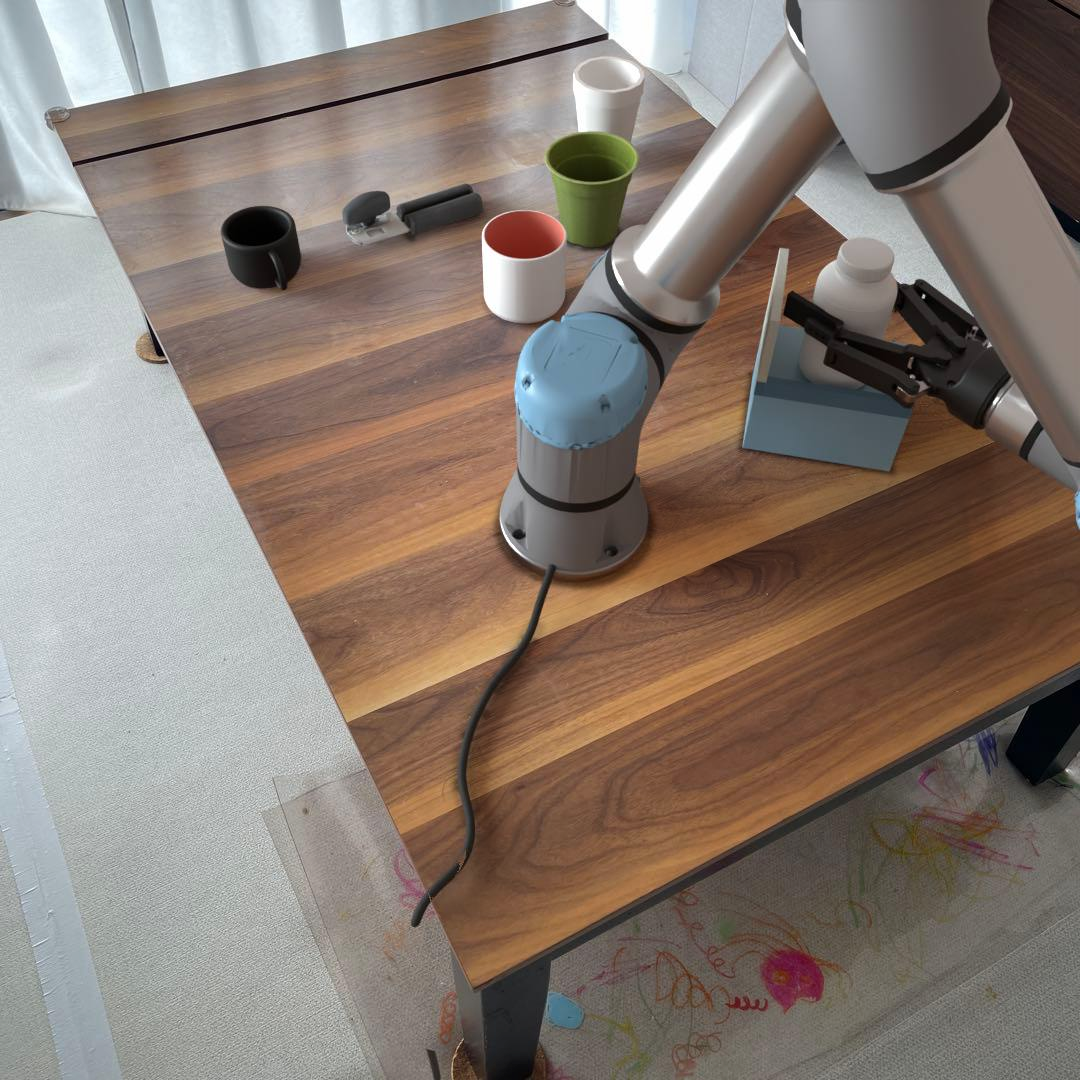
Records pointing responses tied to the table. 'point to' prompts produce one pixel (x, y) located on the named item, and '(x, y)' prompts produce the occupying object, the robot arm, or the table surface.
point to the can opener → (407, 214)
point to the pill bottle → (851, 303)
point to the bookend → (815, 403)
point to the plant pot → (591, 183)
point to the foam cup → (608, 95)
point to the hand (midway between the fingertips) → (814, 285)
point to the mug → (262, 246)
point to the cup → (524, 265)
